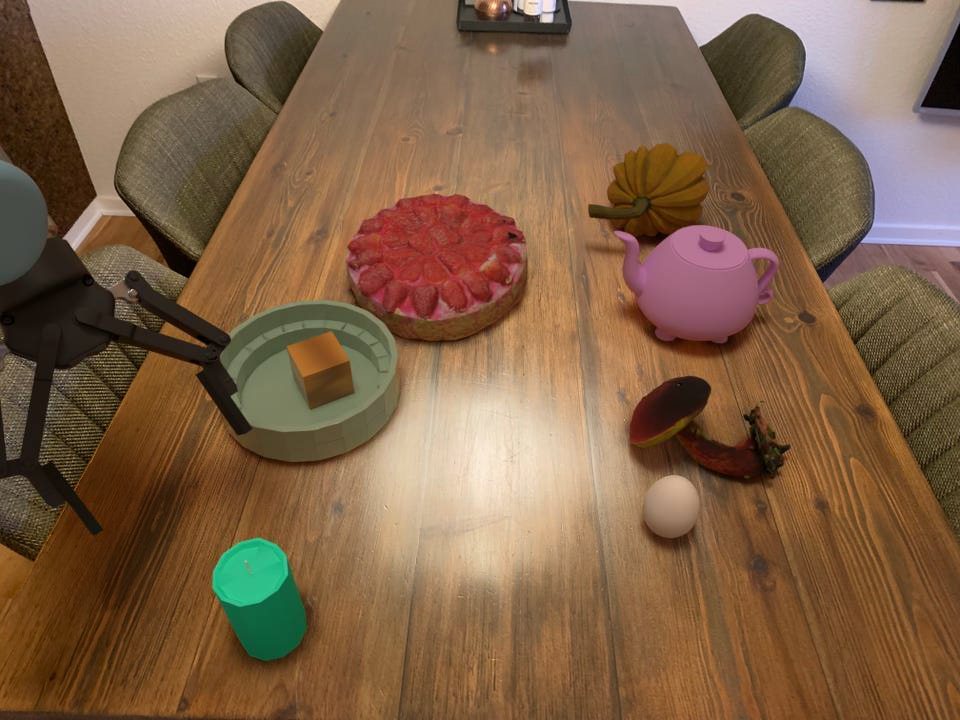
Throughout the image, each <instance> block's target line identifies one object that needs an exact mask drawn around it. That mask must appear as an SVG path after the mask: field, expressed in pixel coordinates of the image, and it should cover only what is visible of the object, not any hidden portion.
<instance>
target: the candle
mask: <svg viewBox="0 0 960 720" xmlns="http://www.w3.org/2000/svg"><path fill="white" fill-rule="evenodd" d="M211 587H212V590H213V593H214V594H215V597H216V598H217V600H218V602H219V604H220V606H221V607H222V609H223V612H224V614H225V615H226V617H227V620H228V622H229V623H230V625H231V628H232V629H233V632H234V634H235V635H236V638H237V639H238V641H239V643H240V645H241V646H242V647H243V649H244V650H245V651H246V653H247V655H248V656H250V657H253V658H255V659H259V660H261V661H265V662H268V661H273V660H277V659H281V658H285V657H286V656H287V655H289V654H290V653H291V652H292V651H294V650H295V648H297V647H298V646H299V645H300V644H301V642H302V639H303V638H304V635H305V633H306V631H307V630H308V629H307V626H308V625H307V614H306V610H305V607H304V604H303V600H302V598H301V595H300V591H299V589H298V586H297V583H296V580H295V577H294V574H293V571H292V567H291V565H290V562H289V558H288V555H287V554H286V553H285V552H284V551H283V550H282V549H281V547H280V546H279V545H278V544H277V543H274V542H272V541H269V540H267V539H264V538H261V537H256V538H255V537H254V538H251V539H247V540H242V541H239V542H238V543H236V544H235V545H233V546H232V547H231V548H228V549H227V550H226V551H224V552H223V553H222V554H221V556H220V558H219V560H218V562H217V563H216V565H215V567H214V569H213V570H212V586H211Z"/></svg>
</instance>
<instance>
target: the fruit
mask: <svg viewBox="0 0 960 720" xmlns="http://www.w3.org/2000/svg"><path fill="white" fill-rule="evenodd" d="M708 167H709V165H708V163H707V162H706V160H705V158H704V156H703V155H702V154H698V153H695V152H691V151H684V152H682V153H679V154H678V150H677V148H676V147H675V146H673V145H672V144H670V143H668V142H665V143H664V142H663V143H657V144H656V145H654V146H653V147H651V149H648V148H647V146H646V145H645V146H644V145H643V146H638V148H637V150H636V151H634V150H632V149H631V150H629V151H628V152H626V153H625V152H624V159H623V162H618V163H616V164H615V165H613V167H612V168H613V169H612V172H613V175H614V179H613V180H612V181H611V182H610V184H609V185H608V186H607V188H606V189H607V190H606V196H607V200H608V201H609V203H610V204H612V205H613V206H605V205H601V204H593V203H588V204H587V211H588V216H589V219H599V220H612V223H613V225H614V226H615V227H616V228H623V232H625V233H628V234H630V235H632V236H633V237H635V238H636V237H640V236H642V235H645V236H647V237H656V236H657V235H658V234H659V233H661V234H663V235H671V234H673V233H674V232H676V231H677V230H679V229H682V228H684V227H688V226H691V225H692V224H694V223H696V222H698V221H699V220H700V219H701V218H702V214H703V209H704V207H703V205H702V203H703V202H704V201H705V200H706V198H707V196H708V194H709V191H710V188H709V184H708V181H707V178H706V177H704V176H703V175H704V174H705V172H706V171H707V170H708Z"/></svg>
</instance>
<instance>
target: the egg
mask: <svg viewBox="0 0 960 720" xmlns="http://www.w3.org/2000/svg"><path fill="white" fill-rule="evenodd" d="M700 507H701V502H700V498H699V494H698V491H697V489H696V487H695V486H694V484H693V483H692V482H691V481H689V479H687V478H686V477H684V476H682V475H677V474H671V475H666V476H663V477H661V478H660V479H658V480H656V481H655V482H653V483H652V485H651V486H650V487H649V488H648V489H647V491H646V493H645V495H644V498H643V501H642V507H641V508H642V509H641V510H642V516H643V519H644V522H645V523H646V525H647V527H648V528H649V529H650V530H651V531H652V532H653V533H654V534H656V535H658V536H660V537H663V538H666V539H667V538H668V539H675V538H676V539H677V538H679V537H681V536H684V535H686V534H687V533H689V531H690V530H692V529H693V528H694V525H695V524H696V523H697V520H698V519H699V514H700Z"/></svg>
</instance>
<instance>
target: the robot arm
mask: <svg viewBox="0 0 960 720" xmlns="http://www.w3.org/2000/svg"><path fill="white" fill-rule="evenodd" d="M58 232H59V227H58V225H57V224H56V223H55V221H54V220H53V219H52V216H50V214H49V211H48V206H47V203H46V199H45V197H44V195H43V193H42V191H41V189H40V187H39V186H38V185H37V184H36V182H35V180H34V179H33V178H31V177H30V176H29V175H28V174H27V172H25V171H23V170H22V169H21V168H19V167H18V166H15V164H14V163H13V162H12V161H11V158H10V157H9V155H8V154H7V153H6V151H5V150H4V148H3V147H2V146H1V145H0V330H1V332H2V335H3V339H1V340H0V373H2V372H3V371H4V369H5V365H6V363H5V358H6V357H7V355H9V354H11V355H14V356H16V357H19V358H22V359H24V360H28V361H31V362H33V363H36V364H35V370H34V375H33V381H32V387H31V392H30V398H29V404H28V409H27V415H26V421H25V426H24V431H23V438H22V441H21V442H22V444H21V449H20V454H19V457H17V458H13V459H9V460H8V458H7V448H6V439H5V430H4V428H5V427H4V421H3V420H4V419H3V409H2V401H1V399H0V480H3V479H7V478H11V477H12V478H13V477H18V476H19V477H20V476H21V477H24V478H25V479H27V480H28V482H29V483H30V484H31V486H32V487H33V488H34V490H35V491H36V492H37V493H38V495H39V496H40V498H41V499H42V500H43V501H44V503H45V504H46V505H47V506H49V507H51V508H52V509H55V508H57V507H59V506H60V505H63V504H64V503H65V502H66V503H67V505H68V506H69V508H71V510H72V512H74V514H75V515H76V516H77V518H78V519H79V520H80V522H81V523H82V524H83V525H84V527H85V529H87V531H88V532H89V533H90V535H92V536H93V537H96V536H97V535H99V534H100V533H102V532H103V531H104V530H105V529H104V528H103V527H102V525H101V524H100V522H98V520H97V519H96V517H95V516H94V515H93V513H92V512H91V511H90V509H89V508H88V507H87V506H86V504H85V503H84V502H83V501H82V498H81V497H80V496H79V494H77V492H76V491H75V490H74V488H73V486H71V484H70V483H69V481H67V478H65V477H64V475H63V474H62V472H61V470H60V469H58V467H57V466H56V465H55V463H54V462H53V460H50V461H48V462H47V463H45V464H44V465H41V463H40V462H39V460H40V454H41V448H42V442H43V437H44V430H45V425H46V420H47V413H48V408H49V402H50V396H51V390H52V384H53V379H54V374H55V370H59V371H65V370H71V369H73V368H75V367H76V366H78V365H80V364H81V363H82V362H83V361H84V360H85V359H86V358H90V357H94V356H97V355H99V354H102V353H103V352H105V351H106V350H107V349H108V347H109V346H110V345H111V343H112V342H114V343H117V344H121V345H127V346H131V347H136V348H138V349H142V350H144V351H145V350H146V351H149V352H152V353H155V354H158V355H161V356H165V357H168V358H171V359H175V360H178V361H182V362H185V363H189V364H192V365H195V366H198V367H201V368H202V370H201V371H199V372H197V373H195V377H196V378H197V379H198V381H199V383H200V384H201V385H202V387H203V388H204V390H205V391H206V393H207V394H208V396H209V397H210V398H211V400H212V402H213V403H214V404H215V406H216V407H217V408H218V411H219V412H220V411H221V413H222V414H223V416H224V417H225V419H226V420H227V421H228V423H229V424H230V426H231V427H232V429H233V430H234V432H235V433H236V434H237V436H238V435H242V434H246V433H247V432H249V431H250V430H252V429H253V428H252V427H251V426H250V424H249V423H248V421H247V420H246V418H245V417H244V415H243V414H242V412H241V411H240V409H239V408H238V407H237V405H236V404H235V402H234V401H233V399H232V398H231V396H232V395H233V394H235V393H236V392H238V389H237V385H236V384H235V382H234V381H233V379H232V378H231V376H230V375H229V373H228V372H227V370H226V369H225V367H224V366H223V364H222V363H221V361H220V355H221V353H222V352H223V351H224V349H225V348H226V347H227V346H228V345H229V344H230V342H231V337H230V335H229V333H228V332H226V331H224V330H222V329H220V328H219V327H217V326H216V325H214V324H212V323H211V322H209V321H207V320H206V319H204V318H202V317H200V316H199V315H197V314H196V313H194V312H193V311H191V310H189V309H187V308H185V307H184V306H182V305H180V304H179V303H178V302H176V301H174V300H172V299H171V298H169V297H167V296H166V295H164V294H162V293H161V292H159V291H158V290H156V289H154V287H153V286H152V285H150V283H149V282H148V281H147V280H146V278H145V277H144V276H143V275H142V274H141V273H140V272H139V271H138V270H135V269H134V270H133V269H131V270H129V271H127V272H126V274H125V275H124V277H123V278H122V279H120V280H119V281H117V282H116V283H114V284H112V285H111V286H109V287H108V288H106V287H104V286H102V285H101V284H100V283H98V282H97V280H95V278H94V276H93V275H92V274H91V273H90V271H89V270H88V268H87V267H86V266H85V264H84V263H83V261H82V259H81V258H80V257H79V255H78V254H77V253H76V251H75V250H74V248H73V247H72V245H71V244H70V242H69V241H68V240H67V239H65V238H62V237H58V236H57V235H58ZM116 300H122V301H124V302H126V303H127V304H130V305H134V304H136V303H137V304H138V305H139V306H140V307H141V308H142V309H144V310H146V311H147V312H149V313H151V314H152V315H154V316H155V317H157V318H159V319H161V320H162V321H164V322H166V323H167V324H170V325H171V326H172V327H174V328H175V329H178V330H179V331H181V332H183V333H185V334H186V335H188V336H190V337H192V338H193V339H195V340H197V341H198V342H200V343H202V344H204V345H205V346H206V347H205V346H202V345H199V344H195V343H193V342H189V341H186V340H183V339H180V338H177V337H174V336H170V335H167V334H164V333H160V332H157V331H154V330H151V329H147V328H146V327H145V328H144V327H142V326H138V325H137V324H135V323H133V322H130V321H127V320H124V319H121V318H117V317H116V316H115V315H116ZM221 413H220V414H221Z"/></svg>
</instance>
